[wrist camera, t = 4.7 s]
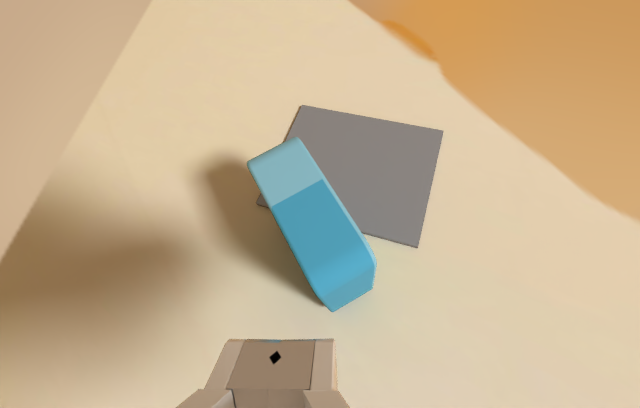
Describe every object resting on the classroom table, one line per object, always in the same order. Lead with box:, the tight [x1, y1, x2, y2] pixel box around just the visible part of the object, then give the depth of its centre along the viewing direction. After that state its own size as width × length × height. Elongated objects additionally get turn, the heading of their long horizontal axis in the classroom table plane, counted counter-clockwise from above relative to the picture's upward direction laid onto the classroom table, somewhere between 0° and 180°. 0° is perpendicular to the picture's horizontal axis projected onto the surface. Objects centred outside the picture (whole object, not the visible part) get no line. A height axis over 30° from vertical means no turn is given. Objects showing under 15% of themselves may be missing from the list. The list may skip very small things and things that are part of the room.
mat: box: [256, 105, 443, 248], centre depth 37 cm, size 15×18×1 cm
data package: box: [247, 137, 377, 312], centre depth 27 cm, size 12×4×12 cm, turn 28°
